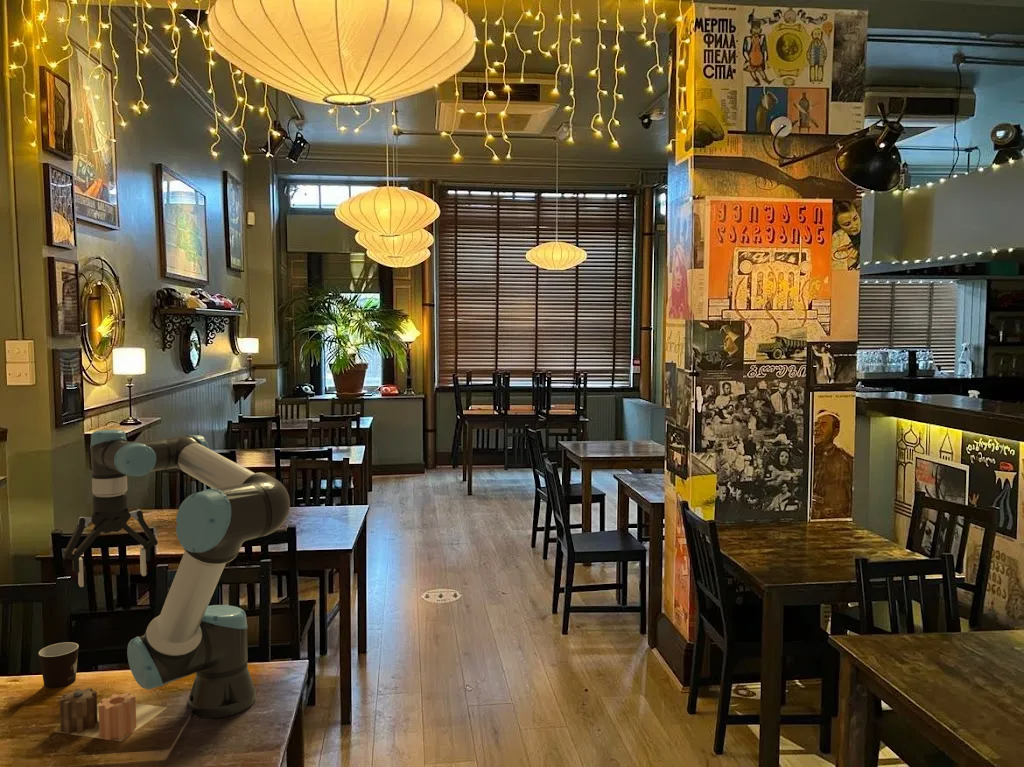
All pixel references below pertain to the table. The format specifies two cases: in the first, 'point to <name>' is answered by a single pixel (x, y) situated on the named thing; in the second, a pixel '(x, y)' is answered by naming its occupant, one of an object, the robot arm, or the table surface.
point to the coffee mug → (59, 664)
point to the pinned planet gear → (78, 711)
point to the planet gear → (117, 716)
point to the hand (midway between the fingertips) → (112, 580)
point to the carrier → (142, 717)
